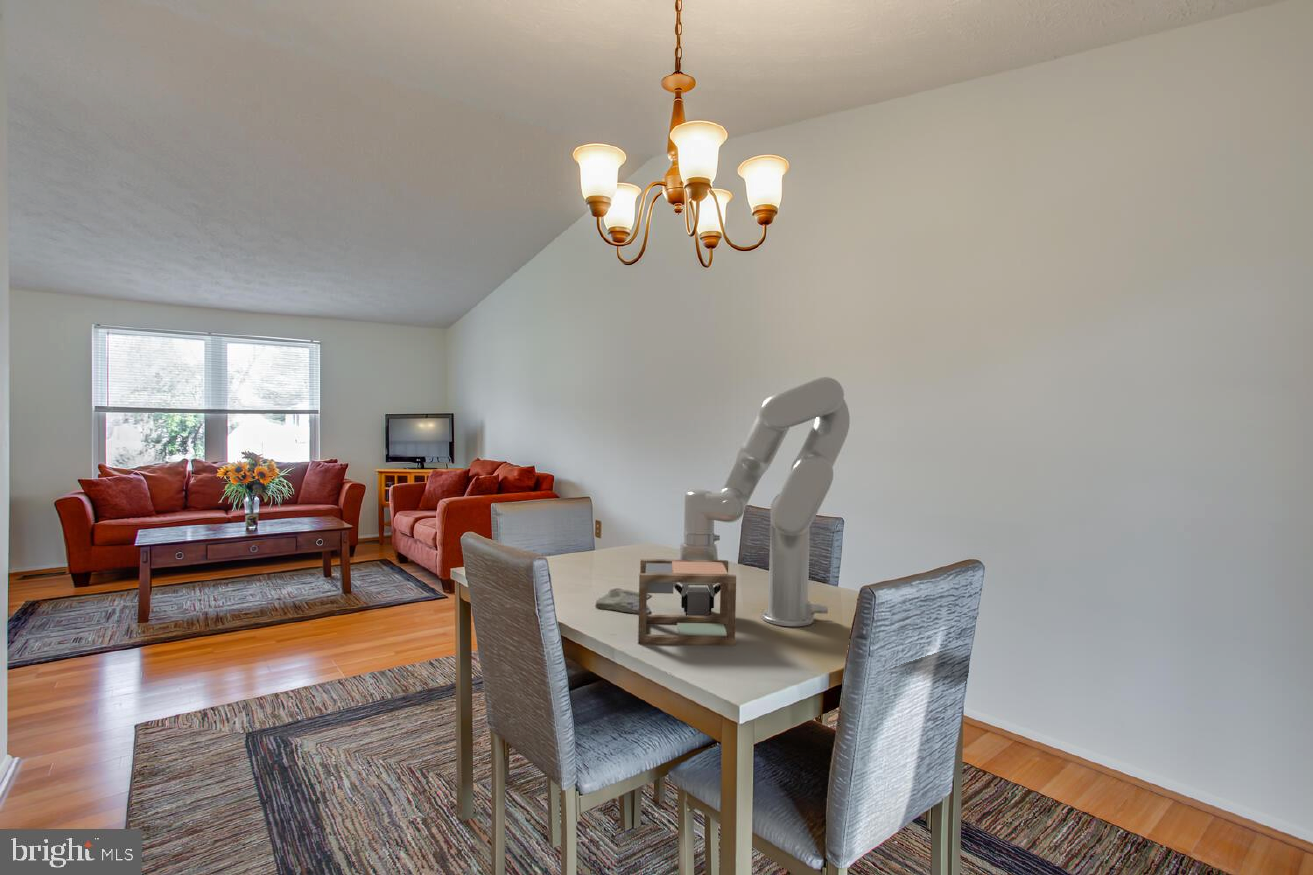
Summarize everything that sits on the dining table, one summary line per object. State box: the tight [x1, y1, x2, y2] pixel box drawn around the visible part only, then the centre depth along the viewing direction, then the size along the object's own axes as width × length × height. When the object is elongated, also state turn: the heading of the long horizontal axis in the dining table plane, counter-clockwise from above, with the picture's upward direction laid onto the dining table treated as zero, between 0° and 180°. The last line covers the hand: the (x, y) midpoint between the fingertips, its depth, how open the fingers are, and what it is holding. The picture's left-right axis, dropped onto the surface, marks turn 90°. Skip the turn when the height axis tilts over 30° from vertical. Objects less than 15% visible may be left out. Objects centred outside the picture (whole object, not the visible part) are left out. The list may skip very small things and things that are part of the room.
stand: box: [637, 558, 737, 646], centre depth 148 cm, size 21×16×15 cm
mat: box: [676, 623, 727, 636], centre depth 149 cm, size 11×11×1 cm
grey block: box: [686, 586, 710, 616], centre depth 163 cm, size 5×5×6 cm
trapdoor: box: [646, 561, 729, 595], centre depth 148 cm, size 18×12×4 cm, turn 90°
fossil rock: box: [594, 587, 653, 615], centre depth 171 cm, size 18×15×2 cm
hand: (697, 610), depth 164 cm, fingers closed on grey block, 5 cm apart
